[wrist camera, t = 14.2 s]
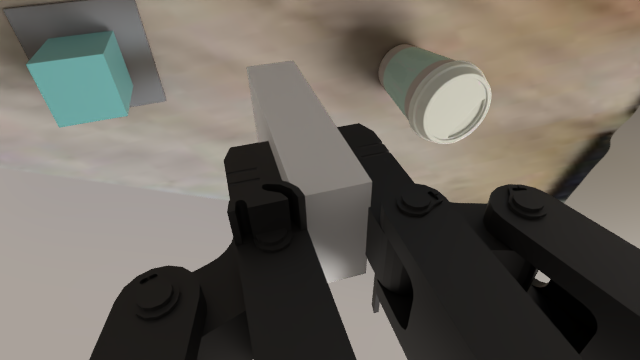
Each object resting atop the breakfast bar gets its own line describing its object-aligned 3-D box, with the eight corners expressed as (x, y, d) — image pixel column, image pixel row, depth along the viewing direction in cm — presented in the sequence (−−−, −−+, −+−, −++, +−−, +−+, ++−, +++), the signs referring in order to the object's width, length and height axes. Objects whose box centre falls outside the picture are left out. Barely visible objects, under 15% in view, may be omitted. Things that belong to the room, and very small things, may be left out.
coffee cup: (374, 111, 48) (422, 161, 39) (360, 48, 43) (413, 90, 34) (434, 85, 49) (495, 128, 40) (428, 20, 43) (497, 52, 34)
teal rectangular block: (48, 38, 32) (25, 64, 27) (113, 30, 34) (103, 53, 29) (74, 95, 36) (59, 127, 31) (133, 85, 37) (127, 115, 32)
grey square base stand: (4, 8, 31) (-30, 31, 26) (133, -6, 33) (126, 13, 28) (60, 117, 37) (42, 153, 32) (166, 99, 39) (165, 131, 34)
